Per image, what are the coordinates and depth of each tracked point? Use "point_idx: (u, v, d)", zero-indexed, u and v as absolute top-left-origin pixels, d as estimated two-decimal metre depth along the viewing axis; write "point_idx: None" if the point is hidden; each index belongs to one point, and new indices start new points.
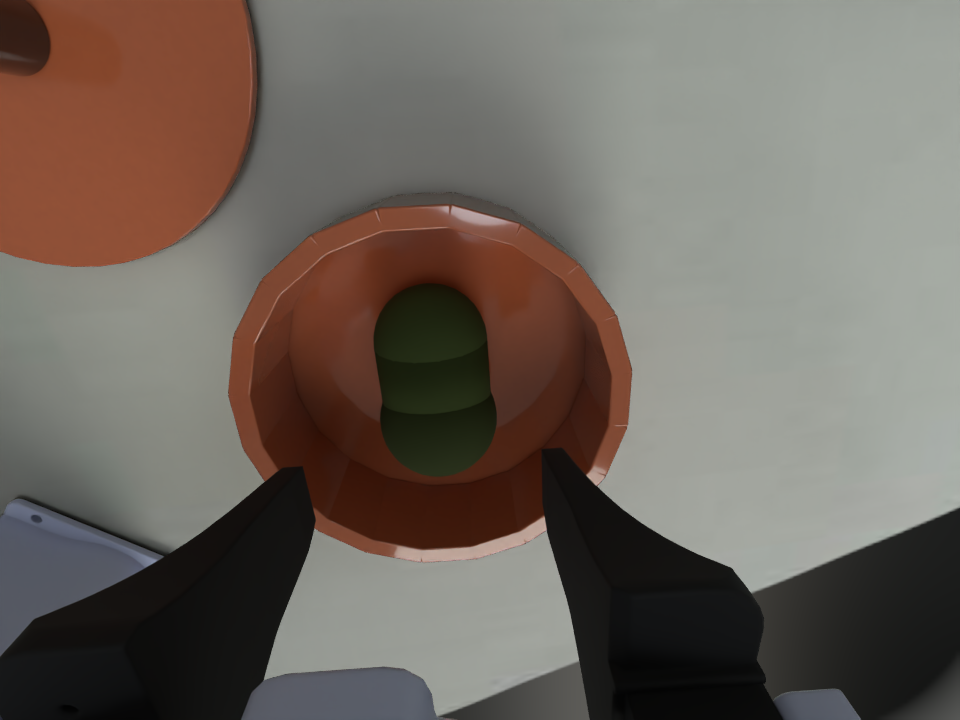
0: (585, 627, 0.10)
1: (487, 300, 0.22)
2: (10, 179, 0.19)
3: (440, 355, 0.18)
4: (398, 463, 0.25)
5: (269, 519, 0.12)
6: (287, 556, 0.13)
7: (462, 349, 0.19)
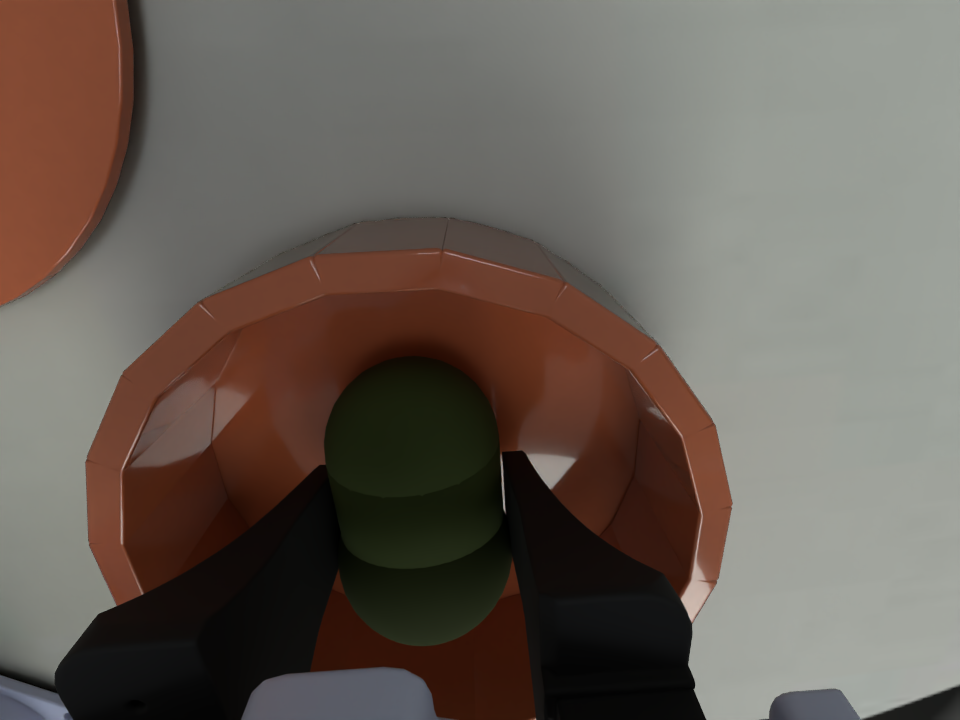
0: (530, 631, 0.10)
1: (499, 371, 0.15)
2: None
3: (424, 485, 0.11)
4: None
5: (312, 516, 0.12)
6: (327, 553, 0.13)
7: (460, 472, 0.12)
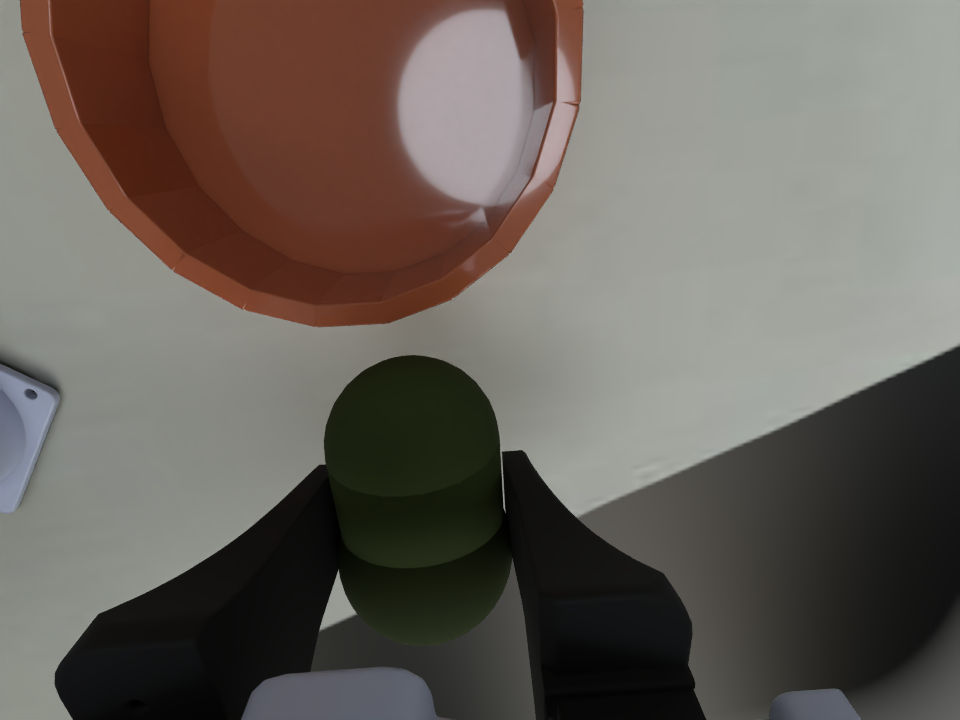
0: (530, 631, 0.10)
1: None
2: None
3: (424, 485, 0.11)
4: (304, 239, 0.20)
5: (312, 516, 0.12)
6: (327, 553, 0.13)
7: (460, 471, 0.12)
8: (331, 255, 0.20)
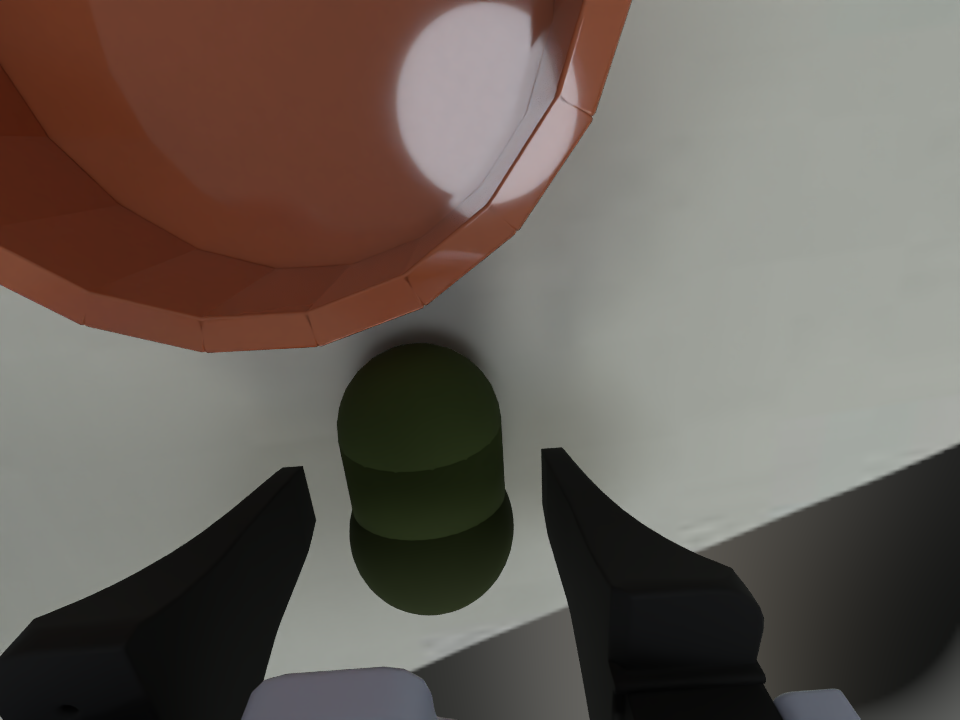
0: (585, 627, 0.10)
1: None
2: None
3: (434, 460, 0.12)
4: (213, 218, 0.14)
5: (269, 519, 0.12)
6: (287, 556, 0.13)
7: (467, 448, 0.13)
8: (254, 241, 0.14)
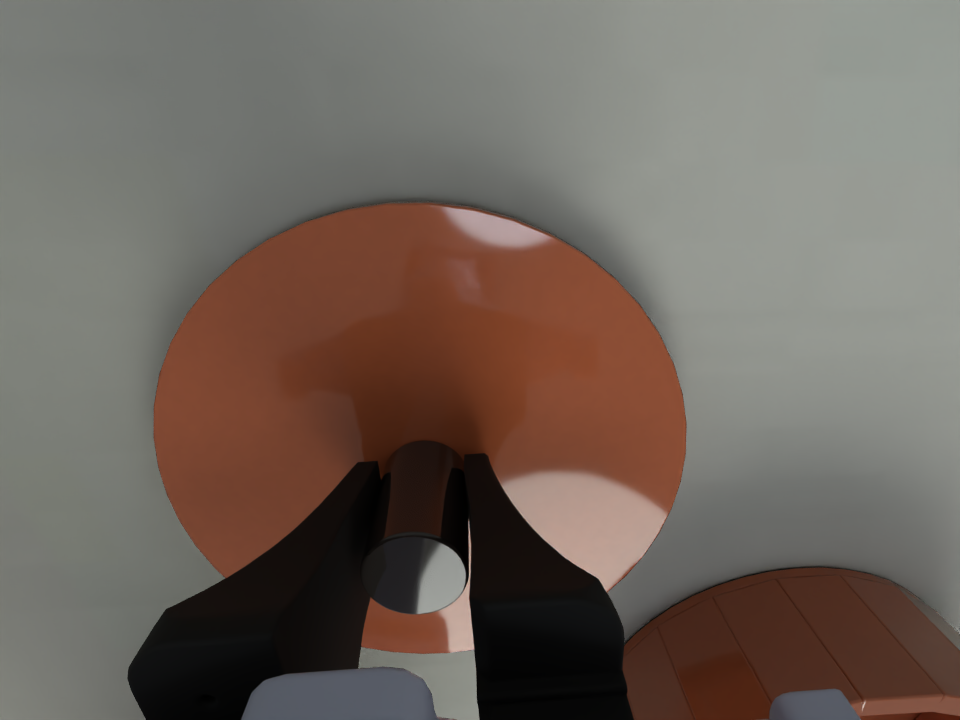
0: None
1: None
2: None
3: None
4: None
5: (357, 513, 0.12)
6: None
7: None
8: None
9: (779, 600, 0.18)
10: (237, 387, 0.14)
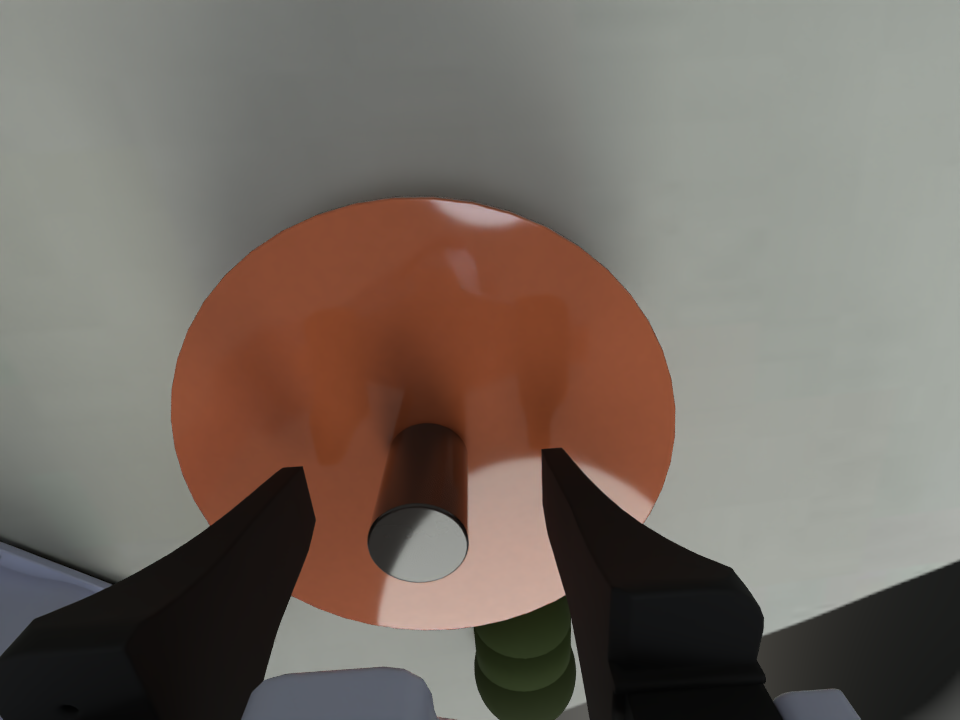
0: (585, 627, 0.10)
1: None
2: None
3: (546, 648, 0.22)
4: None
5: (269, 519, 0.12)
6: (287, 556, 0.13)
7: (561, 636, 0.22)
8: None
9: None
10: (250, 372, 0.15)
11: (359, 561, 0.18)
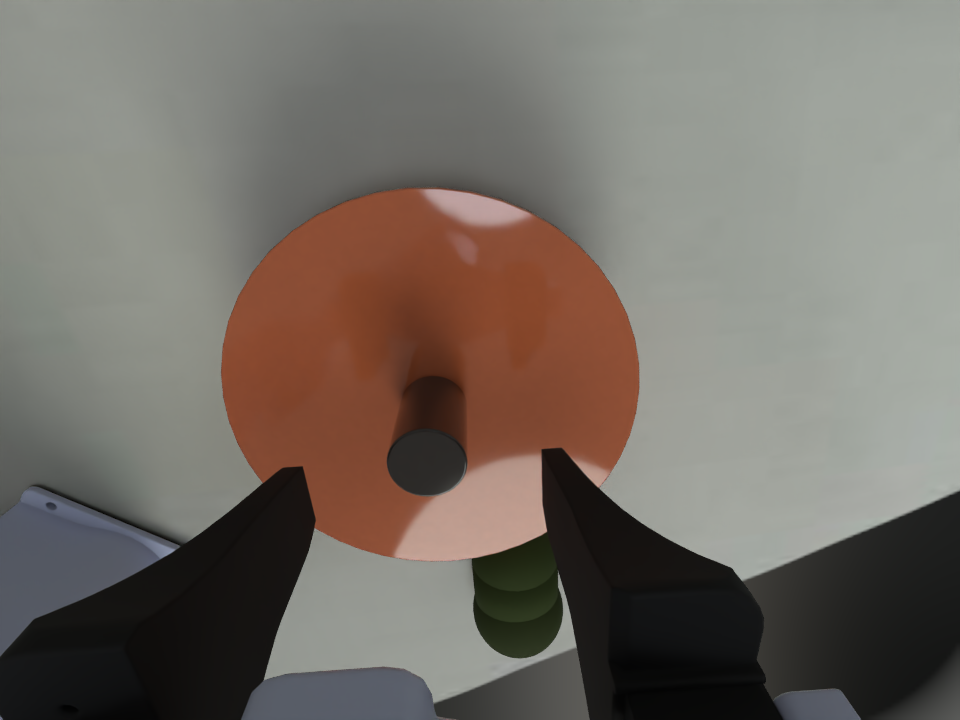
0: (585, 627, 0.10)
1: None
2: (397, 503, 0.21)
3: (536, 583, 0.25)
4: None
5: (269, 519, 0.12)
6: (287, 556, 0.13)
7: (549, 573, 0.25)
8: None
9: None
10: (288, 332, 0.18)
11: (375, 498, 0.21)
